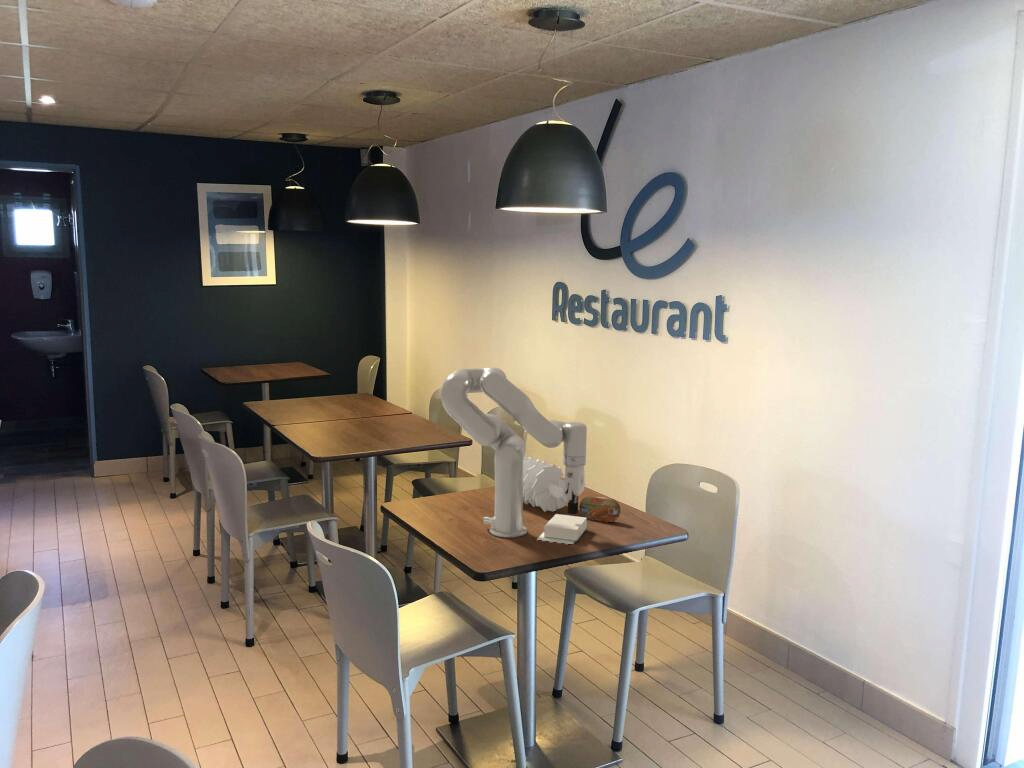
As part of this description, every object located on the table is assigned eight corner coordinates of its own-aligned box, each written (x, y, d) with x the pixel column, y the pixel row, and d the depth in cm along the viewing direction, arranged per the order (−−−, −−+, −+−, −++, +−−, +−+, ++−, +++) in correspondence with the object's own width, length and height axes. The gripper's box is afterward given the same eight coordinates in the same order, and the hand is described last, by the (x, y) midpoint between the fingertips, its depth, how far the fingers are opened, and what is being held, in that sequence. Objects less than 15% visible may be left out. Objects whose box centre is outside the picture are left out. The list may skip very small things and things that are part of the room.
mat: (536, 540, 266) (536, 539, 265) (552, 523, 283) (552, 522, 283) (572, 545, 262) (572, 543, 262) (585, 527, 280) (586, 526, 280)
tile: (576, 541, 264) (544, 537, 267) (586, 528, 277) (555, 525, 280) (576, 529, 263) (544, 525, 267) (586, 517, 276) (555, 513, 280)
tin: (578, 517, 291) (579, 495, 290) (581, 515, 293) (582, 493, 292) (618, 524, 284) (618, 501, 283) (621, 522, 287) (622, 499, 285)
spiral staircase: (548, 526, 293) (506, 506, 312) (581, 499, 301) (539, 481, 321) (533, 486, 285) (492, 467, 305) (568, 459, 294) (526, 443, 313)
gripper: (579, 466, 260) (578, 521, 262) (590, 456, 274) (588, 508, 276) (557, 463, 262) (555, 518, 265) (569, 454, 276) (567, 506, 279)
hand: (572, 513), depth 270 cm, fingers closed
